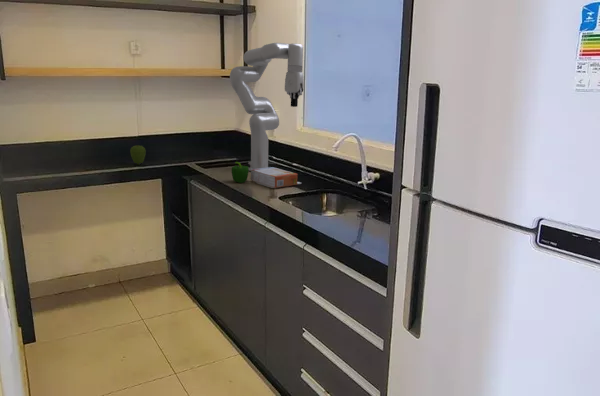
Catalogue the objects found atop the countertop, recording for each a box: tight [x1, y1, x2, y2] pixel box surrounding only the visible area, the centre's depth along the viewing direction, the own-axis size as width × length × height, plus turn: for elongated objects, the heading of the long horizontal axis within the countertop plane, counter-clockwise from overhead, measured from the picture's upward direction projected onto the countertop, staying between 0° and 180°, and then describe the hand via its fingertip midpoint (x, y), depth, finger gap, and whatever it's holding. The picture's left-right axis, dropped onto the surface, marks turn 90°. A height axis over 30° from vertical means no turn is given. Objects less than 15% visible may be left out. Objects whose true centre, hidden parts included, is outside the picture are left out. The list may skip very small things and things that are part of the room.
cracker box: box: [250, 166, 299, 189], centre depth 254 cm, size 14×6×21 cm
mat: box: [255, 181, 302, 189], centre depth 255 cm, size 14×18×1 cm
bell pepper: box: [231, 161, 250, 184], centre depth 255 cm, size 8×8×10 cm
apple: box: [129, 144, 147, 165], centre depth 291 cm, size 9×8×12 cm
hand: (294, 106), depth 260 cm, fingers closed
